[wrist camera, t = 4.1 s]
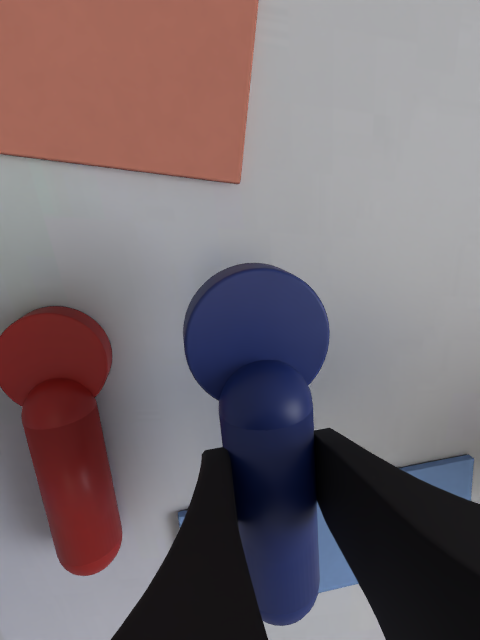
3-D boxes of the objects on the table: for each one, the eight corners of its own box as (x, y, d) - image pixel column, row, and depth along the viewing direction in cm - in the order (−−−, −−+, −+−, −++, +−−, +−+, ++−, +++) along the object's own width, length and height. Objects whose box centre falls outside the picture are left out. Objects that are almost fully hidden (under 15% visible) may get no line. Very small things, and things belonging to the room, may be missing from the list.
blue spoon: (324, 559, 14) (355, 630, 12) (215, 583, 14) (225, 663, 11) (313, 255, 11) (352, 266, 9) (174, 270, 11) (175, 287, 8)
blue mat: (195, 614, 20) (195, 622, 20) (177, 511, 18) (177, 517, 18) (461, 552, 22) (466, 558, 22) (468, 453, 20) (474, 458, 20)
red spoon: (145, 531, 18) (140, 580, 16) (55, 548, 18) (36, 602, 15) (103, 300, 15) (89, 316, 13) (-7, 312, 15) (-43, 332, 12)
